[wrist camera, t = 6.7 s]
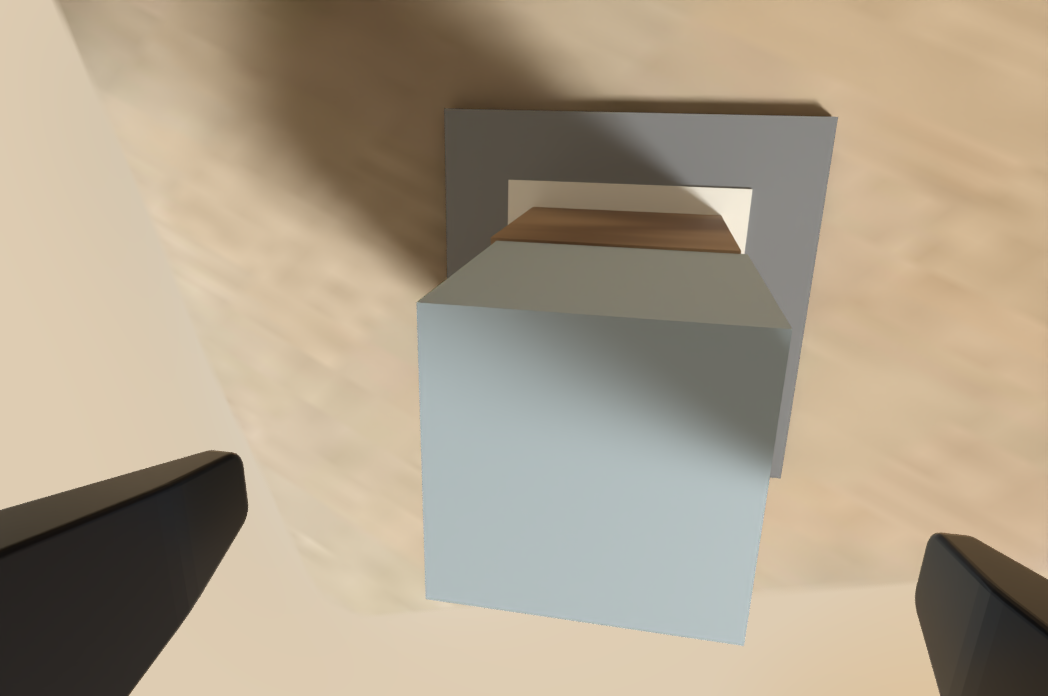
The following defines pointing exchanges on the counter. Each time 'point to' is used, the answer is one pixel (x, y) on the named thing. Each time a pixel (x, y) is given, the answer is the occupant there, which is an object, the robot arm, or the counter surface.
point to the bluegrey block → (600, 434)
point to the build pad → (652, 186)
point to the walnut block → (621, 230)
